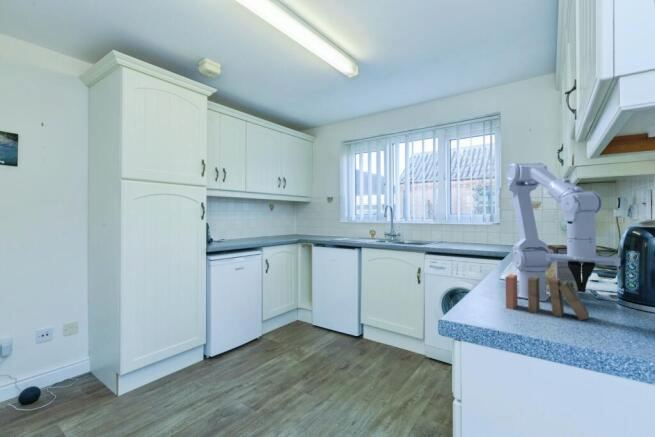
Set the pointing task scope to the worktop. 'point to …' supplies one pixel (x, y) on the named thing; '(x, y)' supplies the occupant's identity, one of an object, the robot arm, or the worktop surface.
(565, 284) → the domino
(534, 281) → the domino
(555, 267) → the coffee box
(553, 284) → the domino
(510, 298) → the domino
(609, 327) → the worktop surface
